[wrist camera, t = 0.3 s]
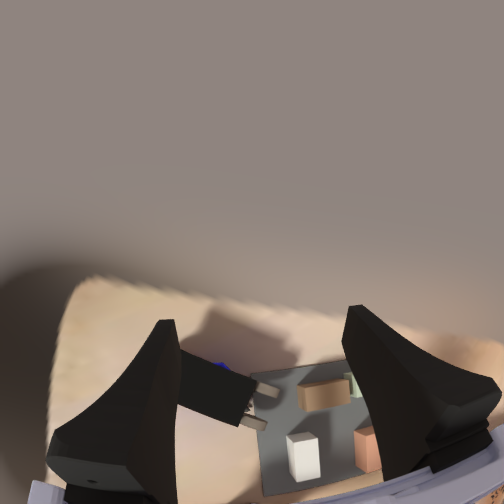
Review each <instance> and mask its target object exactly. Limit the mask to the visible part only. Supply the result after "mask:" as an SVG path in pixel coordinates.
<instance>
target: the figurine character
mask: <svg viewBox="0 0 504 504" xmlns="http://www.w3.org/2000/svg"><path fill="white" fill-rule="evenodd" d="M180 350H181V349H180ZM252 392H253V393H255V392H260V393H262V394H265V395H268V396H271V397H274V398H277V397H278V394H279V392H280V389H278V388H275V387H272V386H269V385H267V384H264V383H261V382H258V381H257V380H254V379H252V378H249V377H246V376H243V375H241V374H238V373H236V372H233V371H231V370H230V369H229V368H228V367H227V366H226V365H225V364H224V363H211V362H209V361H206V360H204V359H202V358H199V357H197V356H195V355H192V354H190V353H188V352H185V351H183V350H181V381H180V389H179V396H178V404H179V405H181V406H184V407H186V408H188V409H191V410H193V411H196V412H198V413H201V414H203V415H206V416H208V417H211V418H214V419H216V420H219V421H222V422H224V423H227V424H230V425H233V426H236V427H238V426H239V424H242V425H244V426H247V427H250V428H252V429H256V430H259V431H265V428H266V426H267V424H268V422H267V421H265V420H263V419H261V418H258V417H256V416H253V415H250V414H247V413H244V412H248V411H250V409H249V408H248V407H247V405H248V402H249V400H250V397H251V395H252Z"/></svg>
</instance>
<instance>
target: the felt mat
mask: <svg viewBox="0 0 504 504" xmlns="http://www.w3.org/2000/svg"><path fill="white" fill-rule="evenodd" d="M349 372H352V371H351V369H350V367H349V364H348V362H347V360H343V361H337V362H331V363H326V364H319V365H313V366H307V367H300V368H293V369H285V370H278V371H270V372H261V373H251V378H252V379H254V380H257V381H258V382H261V383H264V384H267V385H269V386H272V387H275V388H278V389H280V392H279V394H278V397H277V398H274V397H271V396H268V395H265V394H262V393H260V392H255V393H253V401H254V411H255V416H256V417H258V418H261V419H263V420H265V421H267V422H268V424H267V426H266V428H265V431H259V430H257V439H258V448H259V457H260V466H261V475H262V483H263V492H264V497H265V496H272V495H278V494H284V493H289V492H295V491H300V490H305V489H309V488H314V487H318V486H322V485H326V484H330V483H334V482H338V481H342V480H345V479H349V478H352V477H356V476H359V475H362V474H365V473H366V472H364V471H363V470H361V469H360V468H358V467H357V466H355V444H354V431H355V430H359V429H362V428H366V427H369V426H373V425H372V422H371V418H370V415H369V411H368V408H367V406H366V403H365V400H364V398H363V397H358V398H356V397H352V396H350V400H351V403H348V404H344V405H339V406H335V407H330V408H325V409H320V410H315V411H310V412H306V411H304V410H303V409H301V408H299V406H298V395H297V385H301V384H308V383H314V382H320V381H325V380H331V379H336V378H339V379H344V376H343V374H344V373H349ZM304 432H310V433H311V434H313V435H314V436H315V437H317V438H318V448H319V462H320V477H319V478H315V479H310V480H305V481H301V482H296V480H295V479H294V478H293V476H292V475H291V474H290V471H289V460H288V449H287V439H286V436H287V435H293V434H298V433H304Z"/></svg>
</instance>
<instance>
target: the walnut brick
mask: <svg viewBox="0 0 504 504" xmlns="http://www.w3.org/2000/svg"><path fill="white" fill-rule="evenodd" d="M297 395H298V406H299V408H301V409H303V410H304V411H306V412H310V411H315V410H320V409H325V408H330V407H335V406H339V405H344V404H348V403H351V400H350V389H349V380H346V379H339V378H336V379H331V380H325V381H320V382H314V383H308V384H301V385H297Z"/></svg>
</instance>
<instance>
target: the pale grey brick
mask: <svg viewBox="0 0 504 504" xmlns="http://www.w3.org/2000/svg"><path fill="white" fill-rule="evenodd" d="M286 439H287V449H288V460H289V471H290V474H291V475H292V476H293V478H294V479H295V480H296V482H301V481H305V480H310V479H315V478H319V477H320V462H319V448H318V438H317V437H315V436H314V435H313V434H311V433H310V432H304V433H298V434H293V435H287V436H286Z"/></svg>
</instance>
